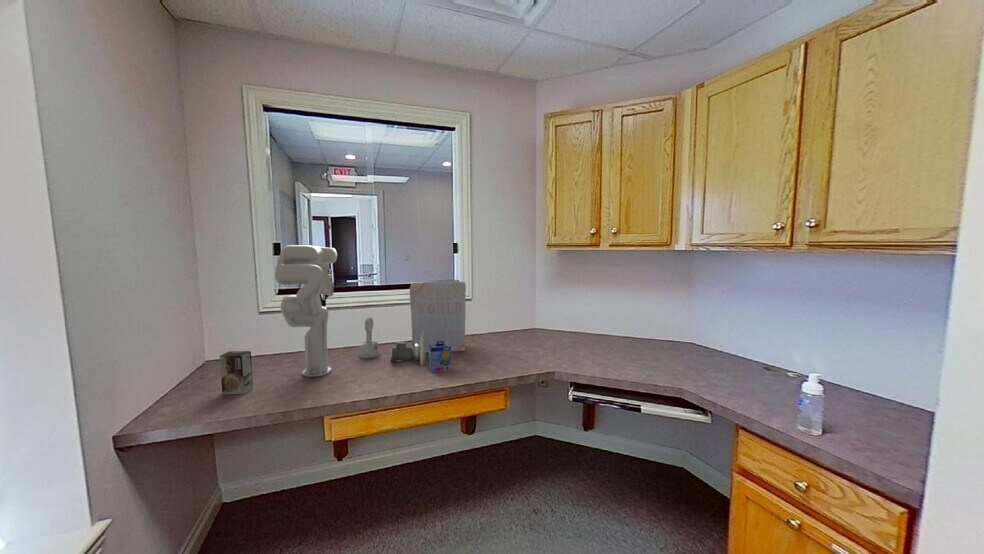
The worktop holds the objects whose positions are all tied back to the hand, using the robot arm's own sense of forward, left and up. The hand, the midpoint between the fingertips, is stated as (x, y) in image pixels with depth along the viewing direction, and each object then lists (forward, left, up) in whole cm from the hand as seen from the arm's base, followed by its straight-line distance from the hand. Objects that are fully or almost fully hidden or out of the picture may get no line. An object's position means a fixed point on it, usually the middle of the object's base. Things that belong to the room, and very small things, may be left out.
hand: (322, 307), depth 200 cm
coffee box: (-43, +20, -27) cm, 55 cm away
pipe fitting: (-7, -41, -27) cm, 50 cm away
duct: (-7, -50, -27) cm, 57 cm away
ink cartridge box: (-22, -61, -27) cm, 70 cm away
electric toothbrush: (+5, -22, -27) cm, 35 cm away
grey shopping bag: (+17, -58, -27) cm, 66 cm away
